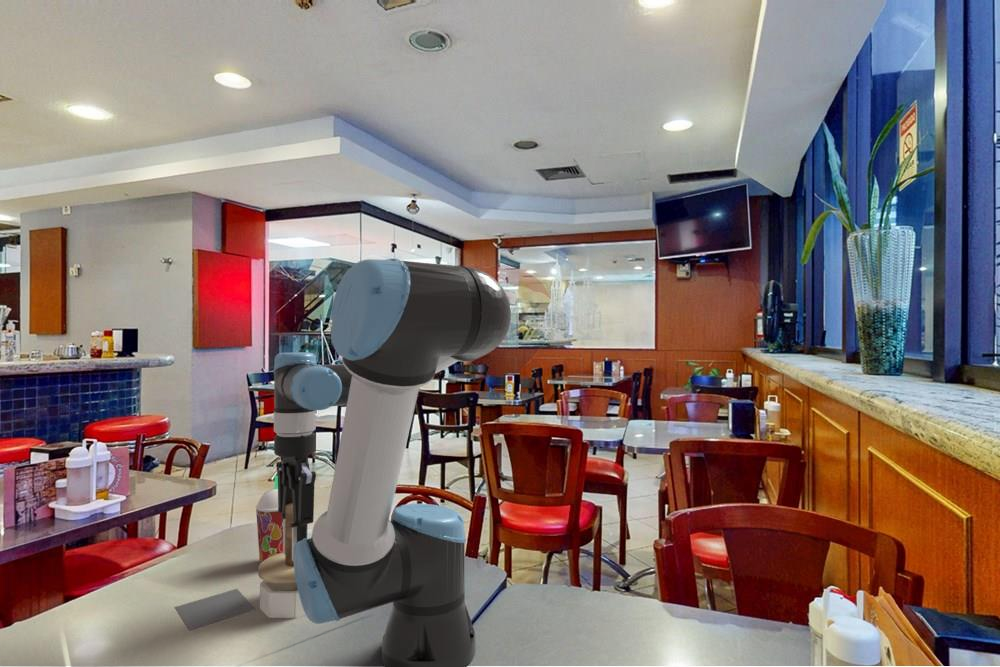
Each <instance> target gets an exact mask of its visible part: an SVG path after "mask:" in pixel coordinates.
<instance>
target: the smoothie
mask: <svg viewBox="0 0 1000 667" xmlns="http://www.w3.org/2000/svg"><path fill="white" fill-rule="evenodd" d="M255 510H256V511H255V512H256V513H255V514H256V527H257V542H258V556H259V557H258V558H259V564H261V563H262V562H263V561H264V560H266V559H267V558H269V557H271V556H274V555H276V554H279V553H283V520H284V518H282V513H279V511H278V475H275V476H274V488H273V487H272V488H271V489H269V490H267V491H266V492H264V493H263V494H262V495H261V497H260V498H259V500H258V502H257V504H256V505H255Z"/></svg>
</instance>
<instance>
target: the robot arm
mask: <svg viewBox="0 0 1000 667" xmlns="http://www.w3.org/2000/svg"><path fill="white" fill-rule="evenodd" d="M507 295H508V294H506V292H505V290H504V288H503V287H502V286H501V283H499V282H498V281H497V280H496V279H495V278H494V277H493V276H491V275H490V274H489V273H487V272H485V271H483V270H481V269H478V268H476V267H472V266H467V265H451V264H441V263H439V264H438V263H430V262H429V263H428V262H421V261H420V262H418V261H407V260H400V259H399V258H388V259H371V258H369V259H363V260H360V261H358V262H355V263H354V264H353V265H352V266H351V267H350V268H349V269H347V270H346V272H345V273H344V275H343V276H342V277H341V280H340V281H339V283H338V285H337V288H336V292H335V295H334V298H333V301H332V307H331V312H330V321H332V322H331V326H330V337H331V342H332V345H333V349H334V350H335V352H336V354H338V355H339V356H340V357H341V358H342V359H341V360H342V361H341V362H342V363H340V364H317V356H316V354H314V352H301V351H300V352H280V353H277V354H276V355H275V357H274V366H273V375H274V376H273V377H274V379H273V382H274V384H273V385H274V386H273V387H274V390H273V391H274V394H273V395H274V401H273V402H274V404H273V405H274V411H273V432H274V433H276V435H275V436H273V441H274V442H273V445H274V446H273V448H274V449H273V453H274V455H275V456H277V457H281V458H282V461H276V463H275V466H276V467H275V468H276V473H277V476H278V511H279V513H282V518H284V520H283V554H285V506H286V505H287V504H290V503H293V513H294V523H293V524H290V526H291V528H292V561H293V562H294V571H295V577H296V583H297V588H298V592H299V596H300V600H301V603H302V606H303V609H304V612H305V614H306V615H305V616H306V618H307V619H308V620H309V621H310V622H311V623H313V624H316V625H320V624H326V623H330V622H334V621H336V622H338V621H341V619H344V618H347V617H351V616H355V615H357V614H359V613H360V614H361V613H363V612H367V611H369V610H373V609H375V608H379V607H382V606H384V605H388V604H390V603H391V604H392V608H391V612H390V615H389V618H388V620H387V624H386V628H385V631H384V632H385V633H384V634H383V637H382V640H381V660H382V663H383V664H384V666H385V667H467V666H468V665H469V664H470V663H471V662H472V661H473V659H474V657H475V655H476V649H477V647H476V646H477V645H476V644H477V643H476V632H475V629H474V626H473V623H472V620H471V616H470V614H469V610H468V607H467V604H466V598H465V596H466V595H465V593H466V591H465V590H466V589H465V587H466V586H465V585H466V584H465V583H466V581H465V580H466V578H465V577H466V576H465V572H466V570H465V568H466V564H465V563H466V562H465V561H466V559H465V558H466V557H465V556H466V555H465V554H466V550H465V549H466V547H465V546H466V544H465V543H466V542H467V538H466V532H465V522H464V519H463V517H462V515H461V514H460V512H458V511H456V510H455V509H452V508H450V507H447V506H443V505H439V504H438V505H437V504H432V503H407V504H401V505H399V506H397V507H395V508H394V509H393V511H392V514H391V510H392V507H393V502H394V498H395V495H396V494H395V493H396V490H397V485H398V481H399V477H400V473H401V468H402V464H403V460H404V455H405V452H406V448H407V447H406V446H407V443H408V438H409V433H410V430H411V425H412V422H413V417H414V412H415V410H416V409H415V408H416V404H417V400H418V395H419V391H420V388H421V387H424V386H425V385H428V384H429V383H431V382H432V381H433V380H434V377H435V376H436V374H438V373H439V372H441V371H443V370H445V369H447V368H449V367H451V366H453V365H455V364H456V363H457V362H462V363H467V362H468V363H469V362H473V361H475V360H478V359H480V358H482V357H484V356H485V355H487V354H489V353H491V352H492V351H494V350H495V349H496V348H497V347H499V346H500V344H501V343H502V342H503V341H504V339H505V338H506V336H507V334H508V332H509V330H510V326H511V319H512V318H511V317H512V312H511V303H510V301H509V299H508V296H507ZM339 406H340V407H341V406H346V408H345V412H344V418H343V423H342V428H341V434H340V440H339V446H338V451H337V456H336V462H335V467H334V468H335V469H334V473H333V477H332V478H333V479H332V482H331V483H332V484H331V489H330V494H329V499H328V505H327V510H326V511H325V512H324V513H322V514H321V515H320V516H319V517H318V518H317V519H316V521H315V522H314V516H315V515H314V511H315V510H314V508H315V483H316V479H317V478H316V477H317V473H316V471H310V469H311V468H310V464H309V463H310V462H309V456H310V455H311V454H312V455H313V454H314V453H316V451H317V434H316V433H315V432H314V431H316V428H317V425H316V424H317V421H316V420H317V418H318V416H319V415H318V413H317V411H322V410H323V411H324V410H327V409H329V408H332V407H339ZM390 514H391V515H390ZM390 516H391V520H390ZM312 523H314V524H313V527H312V531H311V538H308V537H309V536H308V534H309V533H308V529H309V528H308V526H309V525H308V524H312Z"/></svg>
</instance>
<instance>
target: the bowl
mask: <svg viewBox="0 0 1000 667" xmlns="http://www.w3.org/2000/svg"><path fill="white" fill-rule="evenodd" d="M259 609H260V610H261V611H262V612H263V613H264V614H265V616H267V618H269V619H270V618H271V619H296V618H297V619H298V618H301V617H303V616H306V614H305V612H304V609H303V606H302V603H301V600H300V596H299V592H298V588H297V583H296V582H294V583H271V582H267V581H264V580H262V581H261V582H260V583H259Z"/></svg>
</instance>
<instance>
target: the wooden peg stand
mask: <svg viewBox="0 0 1000 667" xmlns="http://www.w3.org/2000/svg"><path fill="white" fill-rule="evenodd" d="M293 523H294V513H293V503H290V504H287V505H286V506H285V554H283V553H279V554H276V555H274V556H271V557H269V558H267V559H266V560H264V561H263V562H262V563H259V565H258V569H257V570H258V573H257V574H258V578H260V579H261V580H262V581H267V582H271V583H294V582H296V577H295V571H294V562H293V561H292V528H291V526H290V524H293Z"/></svg>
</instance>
